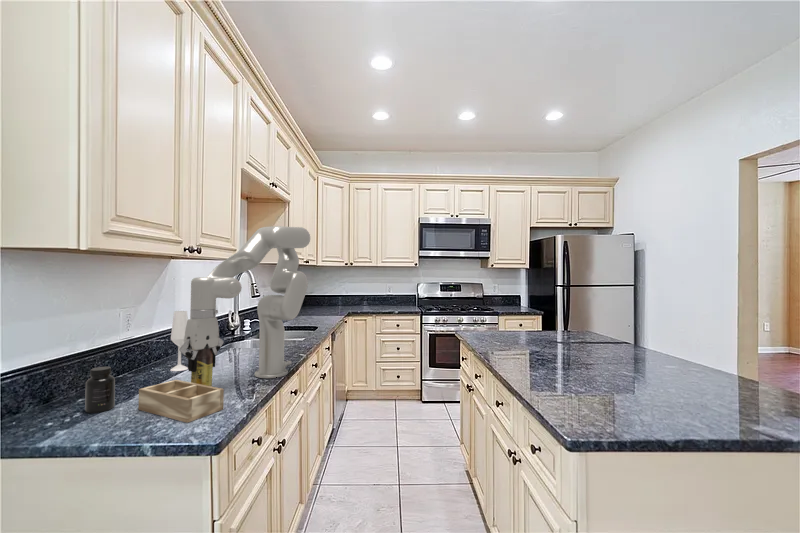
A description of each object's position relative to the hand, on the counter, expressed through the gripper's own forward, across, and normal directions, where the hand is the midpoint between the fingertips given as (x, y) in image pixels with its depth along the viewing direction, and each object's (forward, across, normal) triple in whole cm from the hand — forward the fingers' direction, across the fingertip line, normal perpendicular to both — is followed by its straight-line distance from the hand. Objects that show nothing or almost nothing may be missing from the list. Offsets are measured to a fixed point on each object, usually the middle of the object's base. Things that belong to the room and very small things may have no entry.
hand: (202, 368), depth 126 cm
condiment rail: (+9, +12, +7) cm, 16 cm away
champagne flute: (+9, -18, -38) cm, 43 cm away
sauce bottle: (+9, 0, 0) cm, 9 cm away
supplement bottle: (+9, +22, -14) cm, 28 cm away
